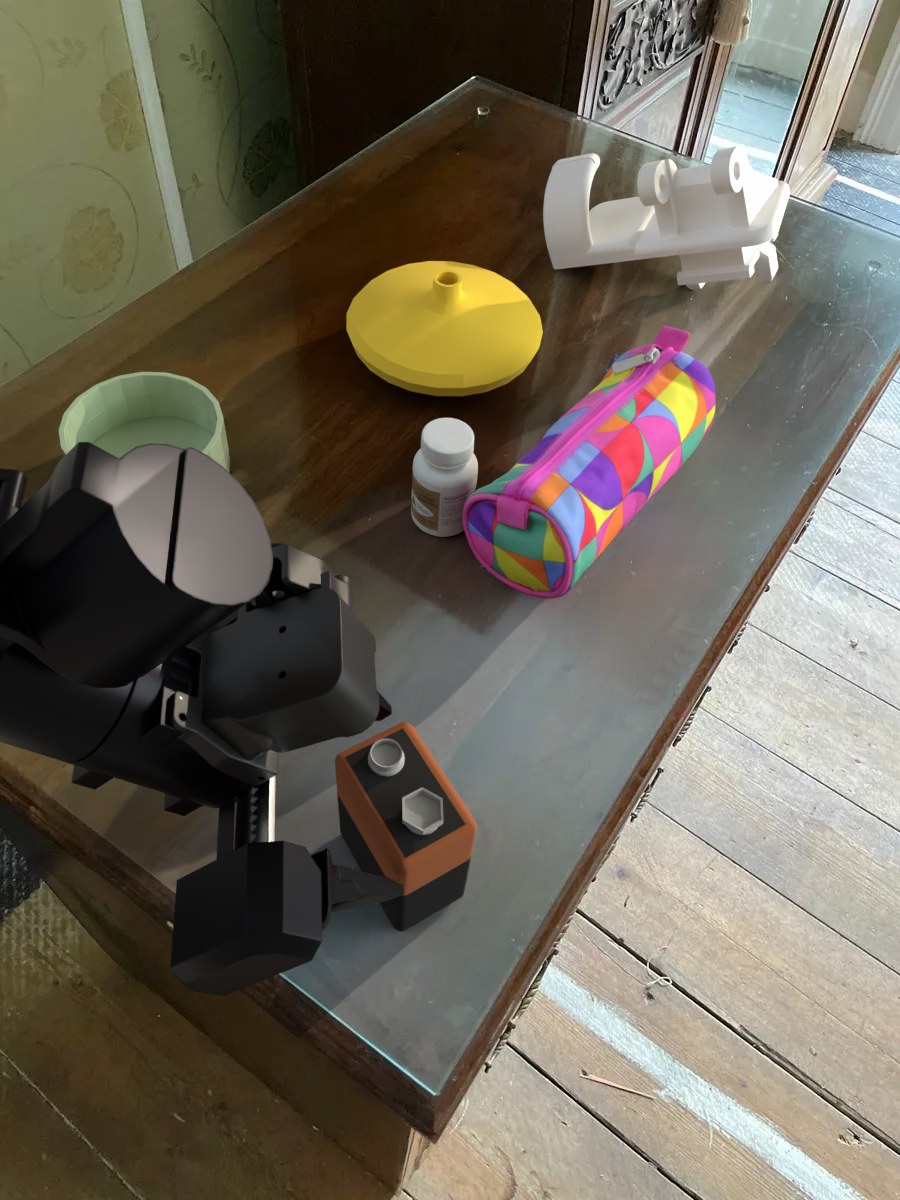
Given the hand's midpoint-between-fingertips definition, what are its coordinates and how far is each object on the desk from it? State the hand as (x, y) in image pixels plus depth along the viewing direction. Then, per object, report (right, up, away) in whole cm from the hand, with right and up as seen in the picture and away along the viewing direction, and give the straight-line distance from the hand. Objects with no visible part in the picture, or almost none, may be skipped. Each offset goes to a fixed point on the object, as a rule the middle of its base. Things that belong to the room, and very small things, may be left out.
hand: (391, 798), depth 45 cm
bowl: (-19, +19, +23) cm, 35 cm away
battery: (0, -5, +7) cm, 9 cm away
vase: (+2, +30, +33) cm, 45 cm away
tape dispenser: (+21, +39, +42) cm, 61 cm away
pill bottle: (+2, +15, +22) cm, 27 cm away
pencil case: (+13, +16, +24) cm, 32 cm away
